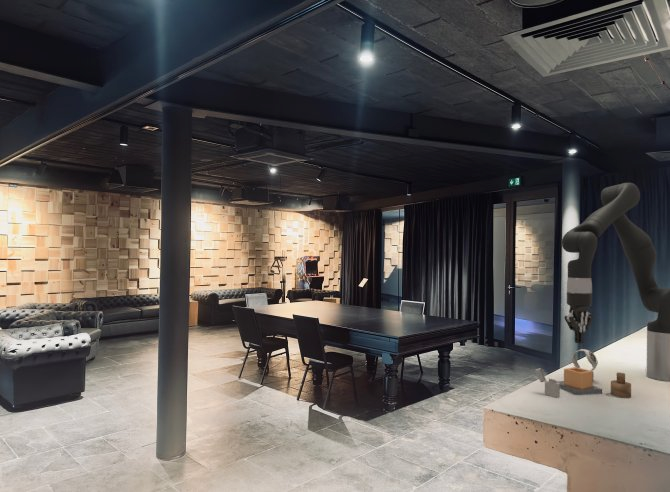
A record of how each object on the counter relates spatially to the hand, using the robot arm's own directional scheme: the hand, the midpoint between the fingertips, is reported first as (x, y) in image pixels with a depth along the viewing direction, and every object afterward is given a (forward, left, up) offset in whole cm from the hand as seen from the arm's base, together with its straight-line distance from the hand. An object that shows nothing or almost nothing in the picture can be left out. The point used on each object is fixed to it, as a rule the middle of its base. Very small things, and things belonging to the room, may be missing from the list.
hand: (579, 343), depth 153 cm
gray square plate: (0, 0, -16) cm, 16 cm away
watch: (-10, -10, -16) cm, 21 cm away
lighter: (+14, +4, -16) cm, 22 cm away
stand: (-10, +7, -16) cm, 20 cm away
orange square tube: (0, 0, -14) cm, 14 cm away
